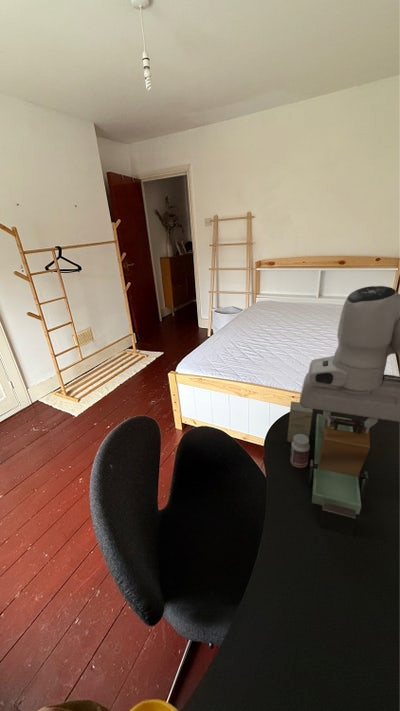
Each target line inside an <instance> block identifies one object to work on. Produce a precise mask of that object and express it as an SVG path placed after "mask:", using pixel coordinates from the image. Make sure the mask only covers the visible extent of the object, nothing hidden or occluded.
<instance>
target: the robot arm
mask: <svg viewBox="0 0 400 711" xmlns="http://www.w3.org/2000/svg"><path fill="white" fill-rule="evenodd" d="M336 334H337V336H336V338H337V347H336V349H335V351H334V355H331V356H327V357H326V356H325V357H321V358H313V359H312V360H311V361H310V363H309V366H308V372H307V373H306V374H305V376H304V379H303V382H302V385H301V390H300V395H299V402H300V404H301V406H302V407H304V408H310V409H313V410H317V411H323V412H322V415H324V416H325V418H326V419H327V426H328V427H334V426H335V423H334V418H335V417H336V416H335V417H332V416H333V415H331V413H338V414H344V415H351V416H357V417H358V416H359V417H363V418H364V417H365V418H367V419H365V421H363V420H361V421H362V422H363V423H364V427H363V428H362V429H361V432H360V433H363V432H364V433H368V432H369V433H370V428H371V427H373V426H374V425H376V424H377V423H378V420H384V421H391V422H396V423H400V376H398V375H393V374H386V373H385V370H386V366H387V363H388V362H387V361H388V357H389V356H390V355H396V354H397V355H399V356H400V293H399V292H398V291H396V289H395V288H393V287H390V286H386V285H371V286H364V287H360V288H358V289H356V290H354V291H352V292H350V293H349V294H348V296H347V297H346V299H345V300H344V303H343V305H342V309H341V312H340V317H339V321H338V328H337V333H336Z"/></svg>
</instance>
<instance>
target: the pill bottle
mask: <svg viewBox="0 0 400 711" xmlns="http://www.w3.org/2000/svg"><path fill="white" fill-rule="evenodd" d="M310 448H311V446H310V437H309V438H308V437H307V436H306V435H304V434H296V435H295V436H294V437H293V442H291V444H290V456H289V457H290V458H289V459H290V460H289V461H290V464H291V465H292V466H293V467H296V468H298V469H302V468H306V467H307V466H308V465H309V464H308V463H309V459H310V450H311V449H310Z"/></svg>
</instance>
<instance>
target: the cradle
mask: <svg viewBox="0 0 400 711" xmlns="http://www.w3.org/2000/svg"><path fill="white" fill-rule="evenodd" d="M314 468H315V469H318V464H315V463H314V459H311V460H310V464H309V472H308V479H307V480H308V481H307V487H308V488H311V481H312V476H313V469H314ZM368 475H369V473H368V471H367V470H365V471H364V473H363V472H360V473H359V476H358V479H362V483H361V487H360V499H361V500H364V497H365V494H366V489H367V485H368V482H369V481H368V480H369V476H368ZM356 521H357V514H356V512H355V510H353V509H349V508H345V507H341V506H337V505H333V504H329V503H325V502H323V504H322V505H321V512H320V516H319V528H320V529H324V530H328V531H331V532H334V533H339V534H342V535H346V536H350V537H352V536H353V533H354V529H355V525H356Z"/></svg>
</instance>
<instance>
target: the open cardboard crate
mask: <svg viewBox="0 0 400 711" xmlns="http://www.w3.org/2000/svg"><path fill="white" fill-rule="evenodd" d="M344 418H345V417H341V418H334V423H335V426H334V429H332V428H328V426H327V419H326V418H325V424H324V429H323V435H322V440H321V445H320V455H319V469H322V470H327V471H331V472H336V473H341V474H345V475H350V476H354V477H358V478H359V473H361V471H362V469H363V466H364V464H365V461H366V458H367V456H368V455H369V451H370V450H371V438H370V431H369V432H368V433H364V432H361V429H362V428H363V427H364V423H363V422H362V421H363V420H356V419H352V420H350V419H351V418H348V419H344ZM338 424H339V425H345V426H351V427H353V428H357V429H356V432H355V431H353V432H350V431H344V430H338V429H337V428H338Z"/></svg>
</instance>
